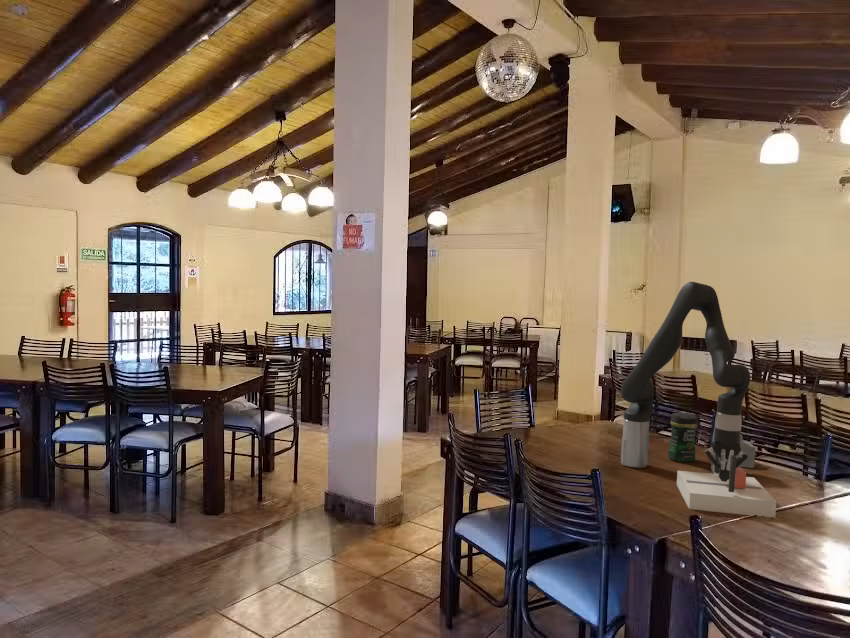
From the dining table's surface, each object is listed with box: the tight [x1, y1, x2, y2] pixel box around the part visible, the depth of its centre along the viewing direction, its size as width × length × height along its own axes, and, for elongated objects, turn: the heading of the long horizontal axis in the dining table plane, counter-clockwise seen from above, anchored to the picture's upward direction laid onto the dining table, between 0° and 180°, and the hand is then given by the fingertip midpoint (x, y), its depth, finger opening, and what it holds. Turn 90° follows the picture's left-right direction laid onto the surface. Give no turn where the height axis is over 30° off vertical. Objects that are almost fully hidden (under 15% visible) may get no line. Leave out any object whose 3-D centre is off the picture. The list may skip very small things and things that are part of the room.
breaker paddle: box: [735, 467, 747, 489], centre depth 202 cm, size 3×6×5 cm, turn 167°
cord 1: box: [713, 452, 719, 474], centre depth 212 cm, size 2×2×11 cm
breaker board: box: [676, 470, 777, 519], centre depth 203 cm, size 24×24×5 cm
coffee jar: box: [667, 412, 698, 463], centre depth 249 cm, size 10×8×19 cm
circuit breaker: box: [710, 429, 759, 474], centre depth 233 cm, size 8×14×15 cm, turn 78°
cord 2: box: [728, 455, 736, 492], centre depth 193 cm, size 2×2×11 cm
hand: (723, 480), depth 203 cm, fingers closed
